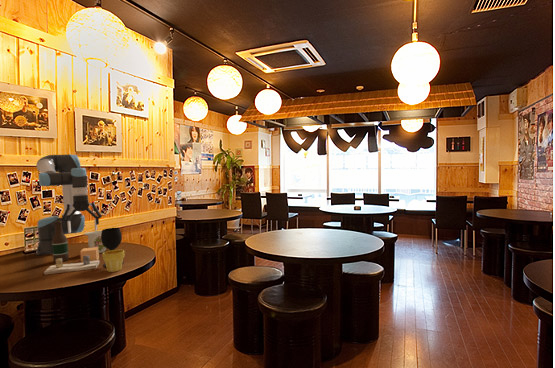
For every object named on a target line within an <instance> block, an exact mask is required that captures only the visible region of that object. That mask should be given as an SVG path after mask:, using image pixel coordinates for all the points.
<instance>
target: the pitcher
mask: <svg viewBox="0 0 555 368" xmlns="http://www.w3.org/2000/svg"><path fill="white" fill-rule="evenodd" d="M101 233H102V230H97V231H95V230H93V231H89V232H88V231H87V232H84V233H83V234H84V235H85V236H87V238H88V240H87V241H88V242H87V243H88V248H92V247H98V250H99V254H101V253H102V254H103V253H104V252H106V250H107V248H106V247H105V246H104V245H103V244H102V241H101Z"/></svg>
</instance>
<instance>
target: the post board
mask: <svg viewBox="0 0 555 368" xmlns="http://www.w3.org/2000/svg"><path fill="white" fill-rule="evenodd" d="M100 263H101V261H100V259H98V260H96V261H90V259H89V255H86V256H83V262H81V261H79V262H71V263H63V262H62V258H59V259H56V262H55V265H50V266H49V267H47V269H46V270H44V271H43V275H45V276H46V275H52V274H53V275H54V274H61V273H70V272H79V271H87V270H93V269H97V267H99V264H100Z"/></svg>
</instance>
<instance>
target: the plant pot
mask: <svg viewBox="0 0 555 368" xmlns="http://www.w3.org/2000/svg"><path fill="white" fill-rule="evenodd" d="M124 258H125V250H124V249H115V250H107V251H106V250H105V251H104V252H102V260H103V261H104V264H106V267H105V268H106V270H107V272H109V273H115V272H119V271H121V270H122V266H123V264H122V262H123V263H124V261H123V260H124Z"/></svg>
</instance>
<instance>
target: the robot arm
mask: <svg viewBox="0 0 555 368" xmlns="http://www.w3.org/2000/svg"><path fill="white" fill-rule="evenodd" d="M36 169H37V171H38V172H40V173H39V174H38V183H39V186H40V187H55V186H62V187H61V188H62V198H63V199H62V201H63V210H64V211H63V213H62V214H61V217H59V215H52V216H48V217H43V218H41V219H39V220H38V221H37V230H38V231H37V232H38V233H37V234H38V245H37V248H36V255H37V256H38V255H39V256H46V255H53V251H52V239H53V237H54V235H55V221H62V230H63V234H64V235H71V234H77V233H78V234H79V233H82V232H83V231H84V229H85V222H86V219H85V215H84V214H83V213H82V212H85V211H87V212H88V214H90V215H91V216H92V217H93V218H94V220H93V221H94V231H98V225H99V224H100V219H101V218H103V215H102V214H101V212H100V210H99V209H98V208H97V206H96V204H95V202H89V195H88V194H89V191H88V177H87V169H86V168H85V167H81V162H80V159H79V157H78V155H77V154H47V155H45V156H42V157H40V159H38V160H37V162H36ZM89 206H90V207H92V209H93V210H94V212H93V210H91V209H90V208H89ZM81 211H82V212H81Z"/></svg>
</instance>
